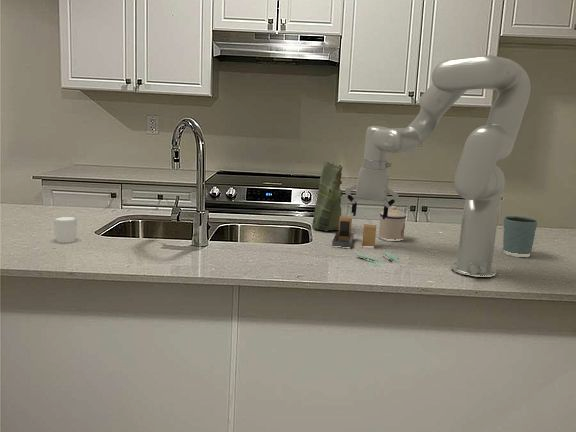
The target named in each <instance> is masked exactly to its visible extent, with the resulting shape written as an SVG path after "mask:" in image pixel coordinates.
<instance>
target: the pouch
mask: <svg viewBox="0 0 576 432" xmlns="http://www.w3.org/2000/svg"><path fill="white" fill-rule="evenodd" d="M334 164H335V163H334V162H333V163H331V162H329V161H324V163H323V167H322V169H321V174H320V178H319V187H318V190H317V191H318V192H317V198H316V202H315V207H314V213H313V219H312V225H311V228H312V229H313V230H318V231H319V230H320V231H325V232H329V231H338V230H339V218H340V216H342V208H341V202H342V199H341V197H342V196H343V189H341V188H340V187H341V185H342V183H343V182H342V179H341V178H342V171H343V166H342V165H341V164H339V165H337V164H335V165H334Z"/></svg>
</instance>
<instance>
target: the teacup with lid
mask: <svg viewBox="0 0 576 432" xmlns="http://www.w3.org/2000/svg"><path fill="white" fill-rule="evenodd" d="M397 208H398V207H397V206H395V205H391V206H390V208H388V215H387V217H385V219H383V212H384V210H383V211H381V212H380V213H379V216H380V217H379V226H378V227H379V229H378V237H379V236H380V237H382V238H386V239H394V240H396V239H403V238H405V226H406V218H407V215H406V213H405V212H402V211H400V210H399V209H397ZM403 240H404V239H403Z"/></svg>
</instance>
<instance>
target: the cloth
mask: <svg viewBox="0 0 576 432" xmlns="http://www.w3.org/2000/svg"><path fill="white" fill-rule="evenodd" d="M383 255H385V256H387V257H388V258H390V259H391V260H392V261H394V262H396V263H400V261H399V259H400V258H399V257H398V258H396V256H398V255H397V254H395V253H394V254H391V253H387V252H384V253H383V254H382V256H383ZM356 256H358V257H362V258H365V259H369V260H372V261H377V263H382V264H386V263H387V262H385V261H382V260H379V259H377V258H375V257H373V256H371V255H367V254H365V253H357V254H355V257H356ZM376 259H377V260H376ZM365 264H366V265H370V266H374V267H381V266H380V265H377V264H376V263H374V262H369V263H365Z"/></svg>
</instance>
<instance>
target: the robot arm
mask: <svg viewBox="0 0 576 432" xmlns="http://www.w3.org/2000/svg"><path fill="white" fill-rule="evenodd" d="M431 82H432V84H431V85H430V86H429V87H428V88H427V89H426V90H425V91H424V93H422V94H421V95H420V96H419V99H418V105H419V106H420V110H419V112H418V114H417V116H416V117H415V118H414V119H413V121H412V122H410V124H409V125H407V127H393V128H391V127H390V128H389V127H387V126H380V125H370V126H367V129H366V130H365V131H366V132H365V141H364V151H363V153H364V154H363V160H362V166H361V167H360V168H359V172H358V176H357V181H356V184H355V185H352V186H349V187H346V188H345V189H344V192H345V194H346V197H347V198H348V200H349V201H350V203H351V212H350V213H351V214H352V217H356V215H357V207H358V205H357V204H358V203H357V202H358V201H359V200H365V201H374V202H375V201H376V202H382V203H383V205H384V206H383V211H384V212H383V219H385V217H387V215H388V209H390V208H391V206H393V204H395V202H396V201H397V200H398V198H399V195H400V194H399V193H397V192H396V191H394V190H393V189H391V188H389V183H390V182H389V181H390V180H389V170H388V168H391V167H392V163H391V162H389V161H388V158H389V157H388V156H389V153H390V154H392V153H393V154H398V153H400V154H401V153H407V152H413V151H415V150H416V149H418V148H419V147H420V146H422V144H423V143H424V142H425V141H426V140H427V139H428V138H429V137H430V136H431V135H432V134H434V133H433V132H434V131H435V130H436V128H437V127H438V124H439V122H440V120H441V118H442V117H443V116H444V115H445V113H446V112H447V111H448V110H450V108H451V107H452V106H453V105H454V104H455V103H456V102H457V101H458V100H459V99H460V98H461V97H463V95H464V94H465V93H466V92H467V91H470V90H491V91H492V90H493V91H494V90H495V91H496V92H497V96H496V98H495V100H494V101H493V104H492V105H491V107H490V110H489V114H488V118H487V120H486V123H485V125H481V126H479V127H477V128H475V129H473V130H472V131H471V133H470V134H468V137H467V138H466V140H465V143H464V146H463V148H462V151H461V155H460V158H459V162H458V165H457V168H456V171H455V175H454V183H453V185H454V189H455V191H456V193H457V194H458V196H460V197H461V198H462V199H463V200H465V202H464V205H463V210H462V211H463V212H462V217H461V218H462V219H461V225H460V234H459V241H458V242H459V243H458V244H459V245H458V251H457V252H458V253H457V258H456V262H453V263H452V264H450V269H451V268H452V269H453V270H455V271H458V272H461V273H465V274H470V275H480V276H483V275H484V276H485V275H486V276H487V275H493V274H495V273H496V274H497V270H496V269H495V268H494V267H492V266H493V265H492V264H493V257H494V249H495V244H496V243H495V241H496V235H497V234H496V233H497V227H498V221H499V220H498V219H499V213H500V206H501V201H502V198H503V194H504V189H505V185H506V178H505V174H504V172H503V171H502V169H501V168H500V167H499V166H498V165H497V162H498V161H499V160H500V161H501V160H503V159H505V158H507V157H509V155H510V154H511V153H512V151H513V148H514V146H515V142H516V140H517V138H518V137H517V136H518V133H519V130H520V128H521V124H522V122H523V121H522V120H523V117H524V114H525V111H526V108H527V106H528V103H529V99H530V97H531V96H530V95H531V87H532V86H531V81H530V77H529V75H528V73H527V71H526V70H525V68H523V67H522V66H521V65H520V64H519V63H517V62H515V61H514V60H512V59H509V58H506V57H501V56H496V55H491V54H490V55H489V54H488V55H486V54H485V55H478V56H477V55H476V56H469V57H460V58H450V59H445V60H442V61H441V62H439V63H438V64H437V65H436V66H435V67H434V69H433V70H432V73H431ZM353 191H355V196H353V195H352V194H351V192H353ZM388 194H389V195H391V196H392V198H391V199H390V200H388V199H387V198H388Z"/></svg>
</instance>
